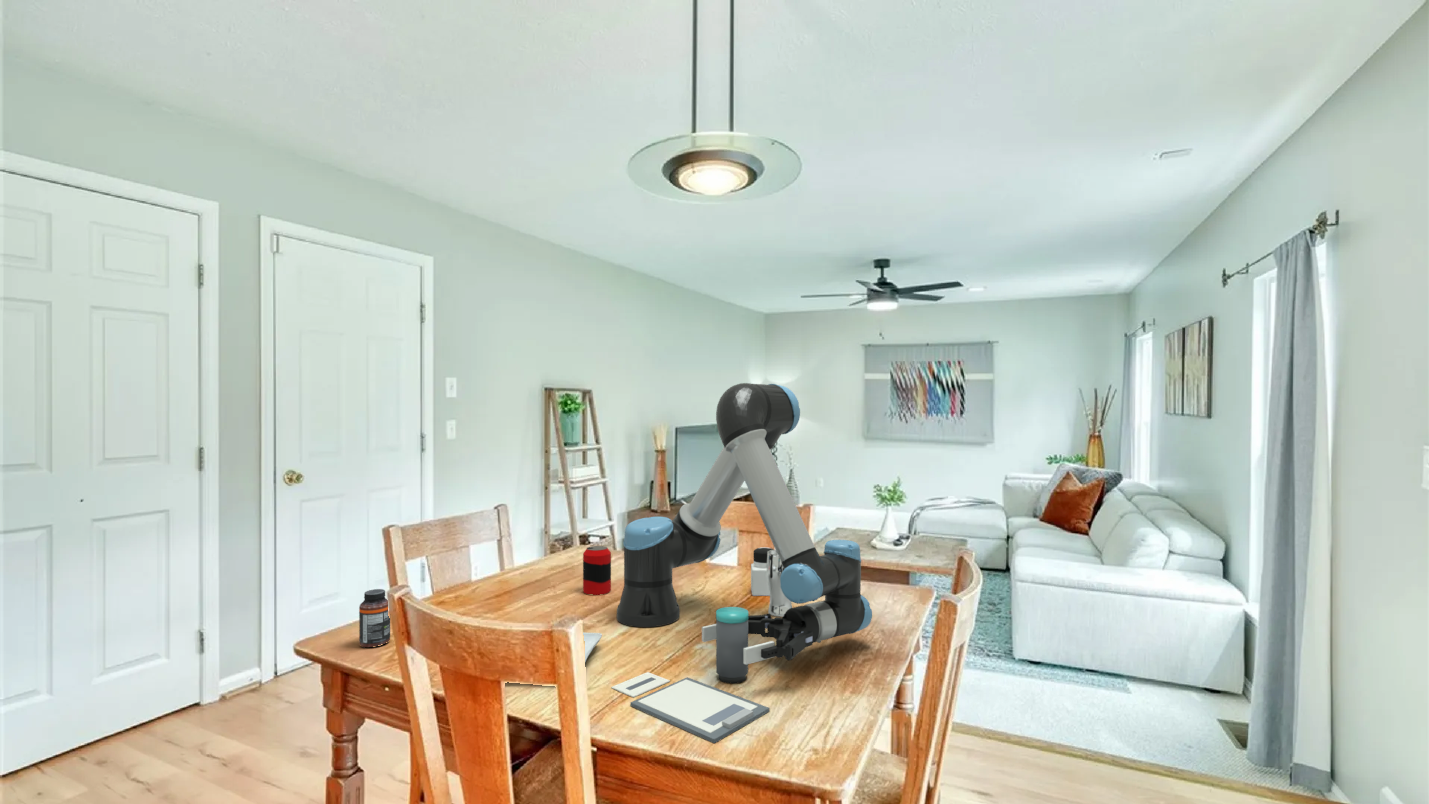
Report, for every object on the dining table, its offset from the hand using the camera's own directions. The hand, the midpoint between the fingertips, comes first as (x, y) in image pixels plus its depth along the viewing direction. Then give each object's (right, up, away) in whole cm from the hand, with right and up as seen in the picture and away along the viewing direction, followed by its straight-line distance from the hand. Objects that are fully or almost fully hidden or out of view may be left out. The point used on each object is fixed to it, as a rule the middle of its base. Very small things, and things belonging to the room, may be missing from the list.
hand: (722, 645), depth 123 cm
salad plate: (-36, -7, +8) cm, 38 cm away
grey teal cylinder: (+2, -7, +2) cm, 7 cm away
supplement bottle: (-74, -7, +19) cm, 77 cm away
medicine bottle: (+12, -7, +59) cm, 61 cm away
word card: (-15, -7, -2) cm, 16 cm away
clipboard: (-4, -7, -11) cm, 14 cm away
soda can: (-34, -7, +59) cm, 69 cm away
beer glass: (+15, -7, +41) cm, 44 cm away
